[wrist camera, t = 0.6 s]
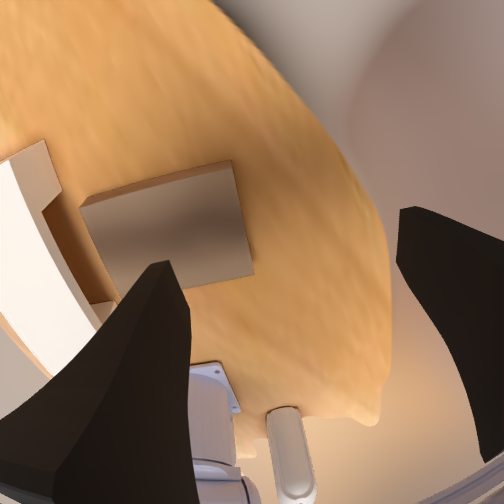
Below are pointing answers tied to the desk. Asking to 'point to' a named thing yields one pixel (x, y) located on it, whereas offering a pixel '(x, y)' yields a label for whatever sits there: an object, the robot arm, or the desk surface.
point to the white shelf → (40, 266)
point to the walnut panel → (172, 227)
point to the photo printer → (290, 457)
